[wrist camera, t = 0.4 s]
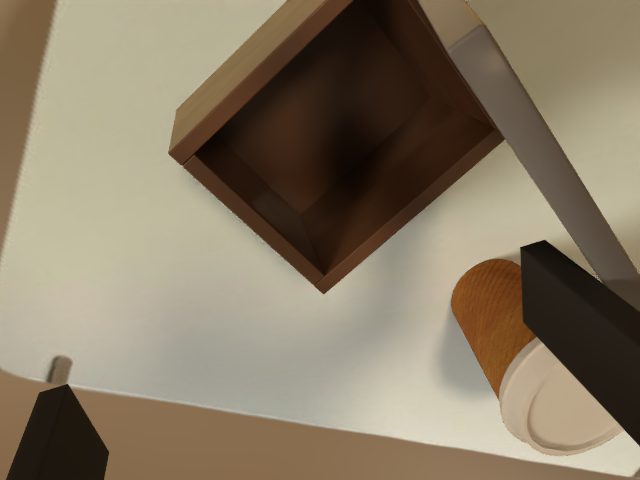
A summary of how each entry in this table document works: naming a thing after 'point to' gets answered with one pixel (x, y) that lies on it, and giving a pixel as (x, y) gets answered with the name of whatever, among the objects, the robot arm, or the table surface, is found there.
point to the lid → (531, 141)
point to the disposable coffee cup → (526, 367)
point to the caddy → (333, 130)
